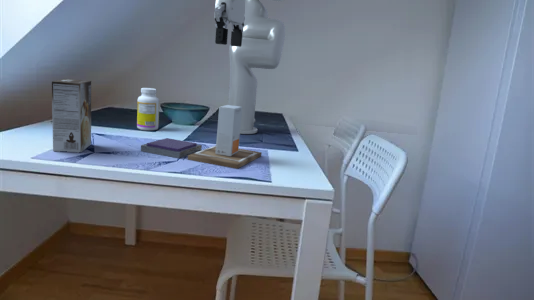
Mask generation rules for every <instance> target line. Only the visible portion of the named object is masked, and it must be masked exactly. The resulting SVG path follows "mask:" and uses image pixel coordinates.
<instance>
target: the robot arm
mask: <svg viewBox="0 0 534 300" xmlns="http://www.w3.org/2000/svg"><path fill="white" fill-rule="evenodd" d="M268 1H270V2H271V1H272V2H284V1H285V0H268ZM214 5H215V6H214V15H213V17H214V21H215V24H214V25H215V37H214V38H215V40H214V42H215V45H223V46H224V45H225V46H226V45H228V38H229V37H228V36H229V35H228V33H229V29H228V27H229V24H230V25H231V28H232V30H231V31H230V32H231V33H230V34H231V35H230V44H229V47H228V48H229V49H228V57H229V86H228V99H227V105H232V106H239V107H242V116H241V127H240V135H241V134H242V135H252V134H256V133H258V129H259V128H257V127H255V123H256V118H255V115H256V114H255V113H256V100H257V92H258V91H257V89H258V79H257V77H256V75H255V73H254V72H253V71H252V69H261V70H262V69H263V70H275V69H277V68H278V67H279V65H280V63H281V59H282V54H283V49H284V44H285V41H286V26H285V23H284V22H283V21H282V20H281V19H278V18H270V17H269V12H268V9H267V8H266V6H265V5H264V4H263V3H262V2H261V0H215V3H214Z"/></svg>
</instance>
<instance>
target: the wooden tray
mask: <svg viewBox="0 0 534 300" xmlns="http://www.w3.org/2000/svg"><path fill="white" fill-rule="evenodd" d="M215 153H216V145H213V146H210V147H208V148H205V149H201V151H199V152H196V153H193V154H190V155H188V156H187V160H188V161H194V162H200V163H205V164H210V165H214V166H215V165H216V166H221V167H227V168H231V169H236V170H237V169H239V168H241V167H243V166H245V165H247V164H249V163H251V162H254V161H256V159H259V158H260V157H262V154H263V153H262V152H260V151H255V150H250V149H243V148H238V153H236V154H234V155H232V156H225V155H218V154H215Z"/></svg>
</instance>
